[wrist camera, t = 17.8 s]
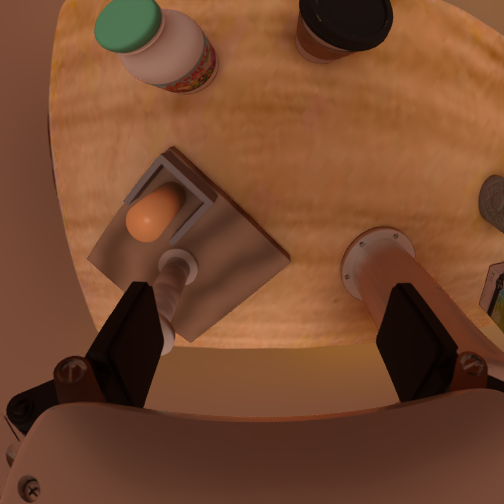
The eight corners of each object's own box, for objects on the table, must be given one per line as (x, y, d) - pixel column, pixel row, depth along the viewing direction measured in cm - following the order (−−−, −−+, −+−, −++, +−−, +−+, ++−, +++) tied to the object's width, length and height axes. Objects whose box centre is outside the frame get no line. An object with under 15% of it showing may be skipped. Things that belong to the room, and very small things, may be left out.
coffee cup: (344, 19, 26) (390, -26, 13) (352, 74, 30) (407, 51, 16) (281, 16, 27) (296, -39, 13) (288, 73, 30) (310, 41, 17)
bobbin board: (289, 255, 41) (307, 336, 26) (192, 335, 48) (172, 415, 32) (173, 146, 34) (114, 167, 19) (92, 253, 41) (33, 315, 26)
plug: (192, 196, 35) (171, 223, 26) (173, 217, 37) (147, 250, 28) (169, 175, 34) (140, 195, 25) (151, 197, 35) (118, 223, 26)
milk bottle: (149, 82, 31) (57, 57, 12) (179, 33, 28) (112, -32, 10) (199, 104, 32) (139, 86, 14) (230, 54, 29) (203, -13, 11)
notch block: (217, 195, 35) (214, 203, 32) (179, 235, 38) (173, 246, 34) (169, 150, 33) (160, 153, 30) (134, 194, 35) (123, 201, 32)
